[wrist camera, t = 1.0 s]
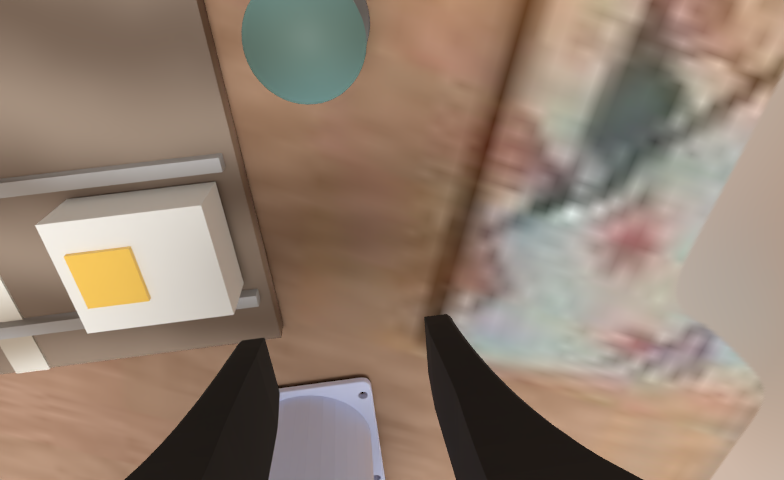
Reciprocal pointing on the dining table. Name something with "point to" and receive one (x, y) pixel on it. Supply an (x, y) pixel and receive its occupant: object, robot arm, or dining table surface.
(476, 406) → the robot arm
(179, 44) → the board
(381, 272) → the dining table surface
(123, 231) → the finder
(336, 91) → the teal round cylinder
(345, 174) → the dining table surface
